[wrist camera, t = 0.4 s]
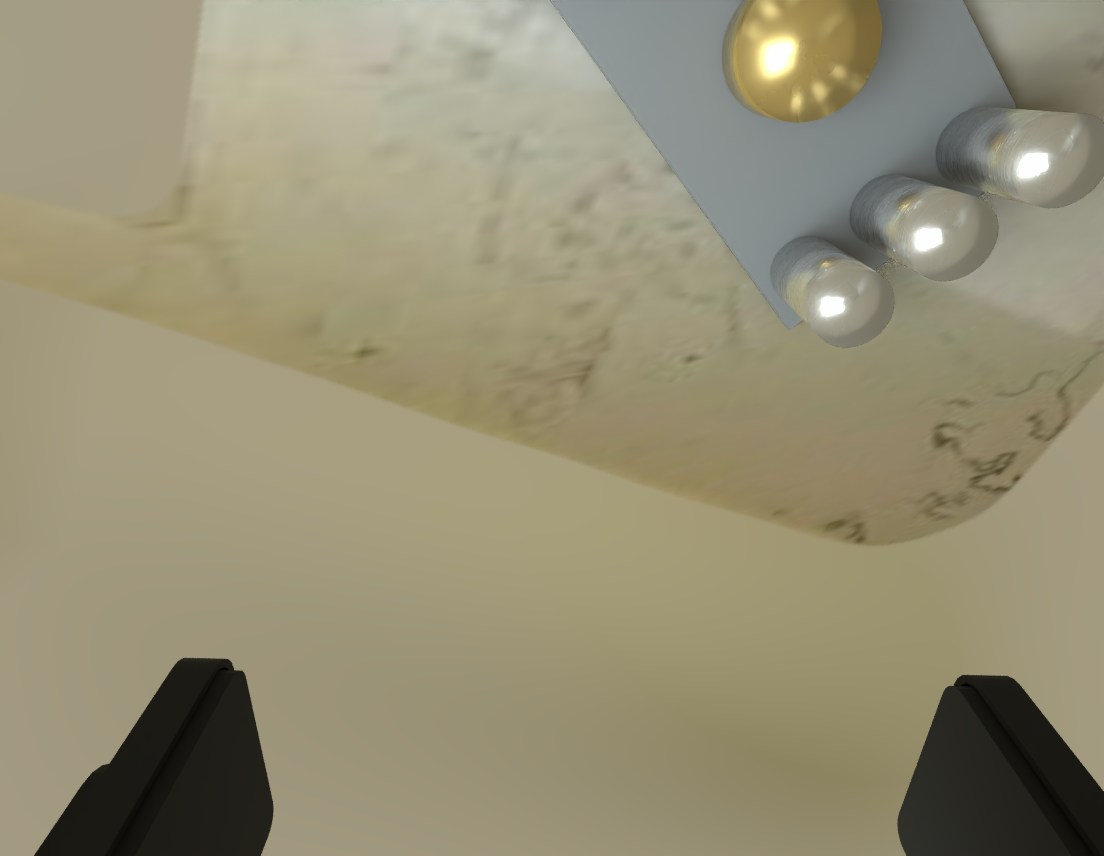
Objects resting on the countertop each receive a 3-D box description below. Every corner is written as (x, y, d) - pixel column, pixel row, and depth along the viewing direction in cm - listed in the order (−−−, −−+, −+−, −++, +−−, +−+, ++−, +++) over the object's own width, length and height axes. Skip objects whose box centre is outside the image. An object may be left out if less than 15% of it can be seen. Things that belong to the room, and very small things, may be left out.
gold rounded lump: (808, -59, 26) (836, -75, 23) (874, 57, 28) (907, 55, 25) (696, 40, 27) (710, 36, 25) (766, 145, 29) (785, 152, 26)
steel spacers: (776, -330, 23) (841, -456, 17) (1023, 151, 29) (1126, 168, 24) (521, -65, 26) (509, -102, 21) (792, 315, 32) (837, 362, 27)
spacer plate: (776, -350, 23) (781, -360, 22) (1031, 151, 30) (1039, 153, 29) (503, -64, 27) (502, -67, 26) (785, 325, 33) (788, 330, 33)
